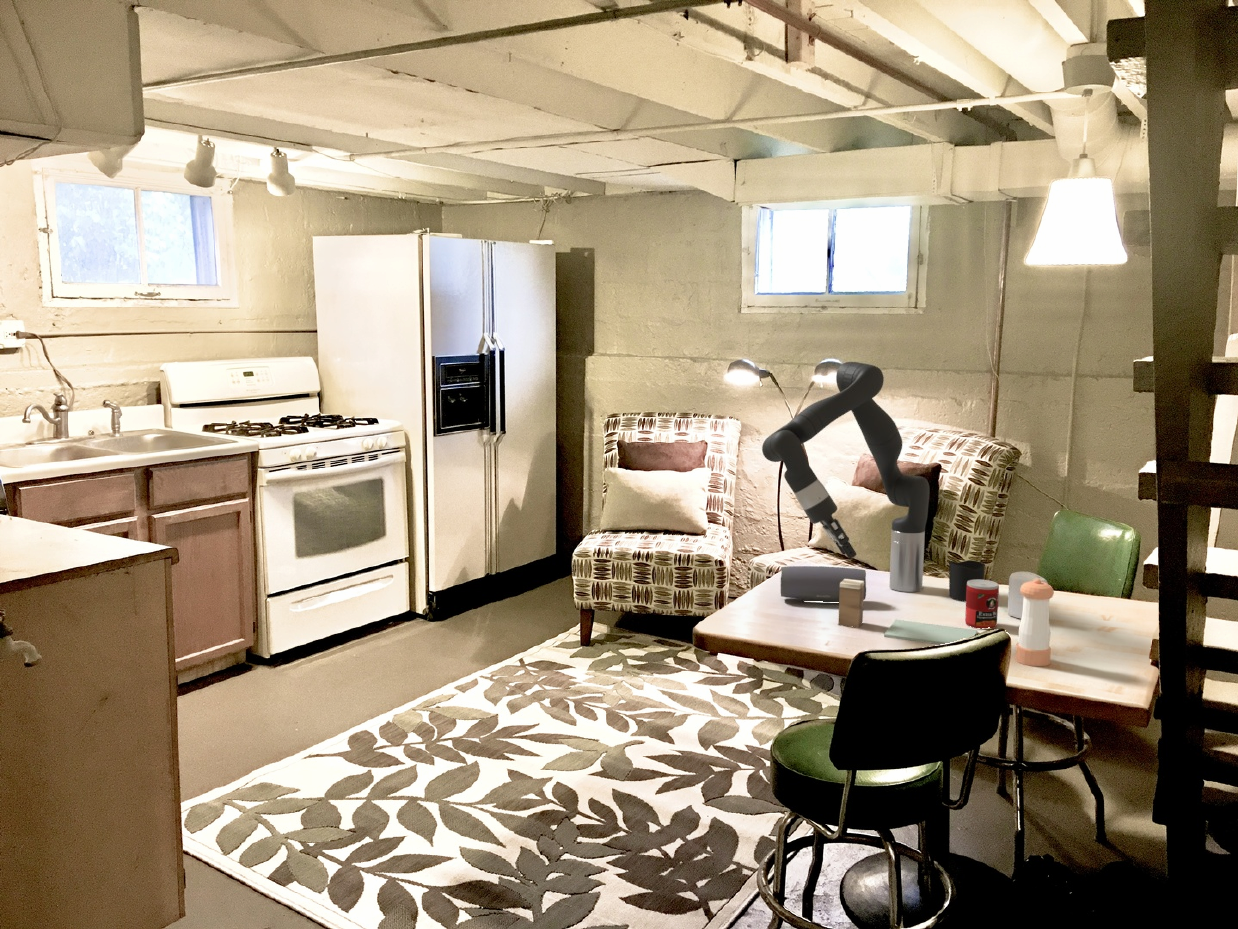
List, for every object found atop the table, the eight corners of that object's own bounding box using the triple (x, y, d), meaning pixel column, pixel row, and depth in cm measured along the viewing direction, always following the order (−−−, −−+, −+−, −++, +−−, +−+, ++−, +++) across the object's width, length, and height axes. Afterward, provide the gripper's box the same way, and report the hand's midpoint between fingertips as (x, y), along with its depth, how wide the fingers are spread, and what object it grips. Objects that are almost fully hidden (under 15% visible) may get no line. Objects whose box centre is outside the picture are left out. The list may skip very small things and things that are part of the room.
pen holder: (979, 604, 271) (981, 569, 270) (944, 599, 276) (946, 564, 275) (986, 596, 279) (987, 562, 278) (951, 592, 284) (953, 558, 283)
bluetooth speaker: (862, 599, 277) (863, 564, 275) (865, 608, 268) (867, 572, 266) (780, 595, 280) (781, 561, 278) (780, 605, 271) (781, 569, 269)
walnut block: (843, 620, 257) (844, 578, 255) (862, 622, 254) (864, 581, 253) (838, 625, 252) (839, 583, 251) (858, 627, 250) (859, 585, 248)
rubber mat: (895, 621, 255) (895, 619, 255) (977, 632, 246) (977, 630, 246) (884, 636, 243) (884, 634, 243) (969, 648, 234) (969, 646, 234)
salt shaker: (1041, 655, 229) (1046, 575, 226) (1055, 666, 221) (1061, 583, 219) (1010, 656, 228) (1014, 575, 226) (1023, 666, 221) (1028, 583, 219)
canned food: (977, 630, 248) (979, 588, 246) (958, 621, 255) (960, 580, 254) (1003, 628, 250) (1006, 586, 248) (984, 619, 257) (986, 578, 256)
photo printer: (1004, 615, 261) (1007, 569, 259) (1015, 613, 263) (1018, 567, 261) (1037, 625, 252) (1040, 578, 250) (1048, 623, 254) (1051, 576, 253)
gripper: (833, 494, 243) (868, 550, 243) (823, 491, 257) (857, 543, 257) (807, 511, 243) (842, 566, 243) (798, 506, 257) (832, 559, 257)
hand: (849, 554), depth 250 cm, fingers open, 8 cm apart
